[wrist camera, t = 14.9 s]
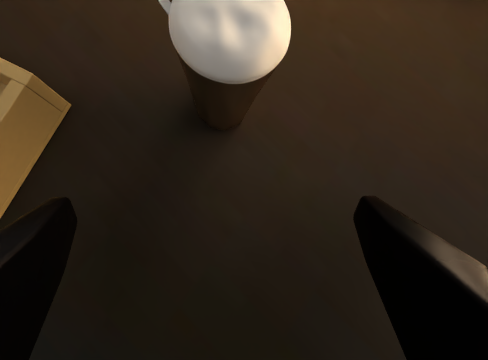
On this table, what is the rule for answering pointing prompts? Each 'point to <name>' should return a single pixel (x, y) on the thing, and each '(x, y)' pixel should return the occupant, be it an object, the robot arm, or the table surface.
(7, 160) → the tray
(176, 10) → the milkshake
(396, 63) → the table surface
